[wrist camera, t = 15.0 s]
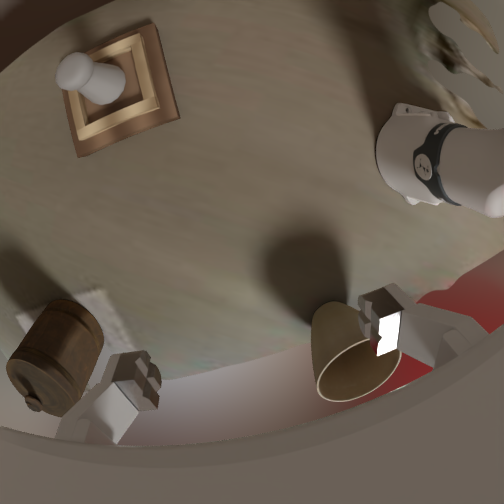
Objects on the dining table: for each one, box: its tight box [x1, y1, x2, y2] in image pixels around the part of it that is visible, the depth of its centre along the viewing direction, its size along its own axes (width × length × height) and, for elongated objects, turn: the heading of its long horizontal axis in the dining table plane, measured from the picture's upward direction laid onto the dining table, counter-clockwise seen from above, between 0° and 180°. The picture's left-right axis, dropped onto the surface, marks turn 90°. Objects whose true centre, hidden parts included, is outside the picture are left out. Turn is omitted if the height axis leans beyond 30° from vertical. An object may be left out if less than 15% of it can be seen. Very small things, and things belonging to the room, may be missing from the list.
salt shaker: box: [55, 52, 126, 105], centre depth 23 cm, size 6×6×13 cm
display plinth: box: [62, 23, 180, 158], centre depth 30 cm, size 16×16×5 cm
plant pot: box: [311, 301, 401, 402], centre depth 45 cm, size 15×15×16 cm
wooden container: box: [6, 300, 104, 417], centre depth 36 cm, size 15×15×22 cm
